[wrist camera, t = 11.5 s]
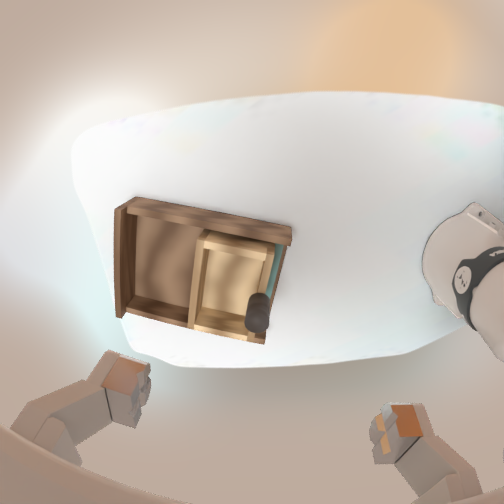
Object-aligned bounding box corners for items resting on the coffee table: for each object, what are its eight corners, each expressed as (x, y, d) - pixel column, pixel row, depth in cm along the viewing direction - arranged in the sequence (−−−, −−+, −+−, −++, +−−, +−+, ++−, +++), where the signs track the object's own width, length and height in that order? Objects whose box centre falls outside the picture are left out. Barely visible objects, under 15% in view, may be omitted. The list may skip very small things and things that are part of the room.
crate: (282, 240, 46) (282, 275, 36) (262, 320, 51) (257, 366, 41) (207, 224, 46) (186, 255, 36) (196, 306, 51) (178, 349, 41)
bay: (290, 227, 46) (292, 244, 40) (265, 326, 53) (263, 352, 47) (135, 196, 46) (114, 209, 40) (132, 295, 53) (115, 316, 47)
